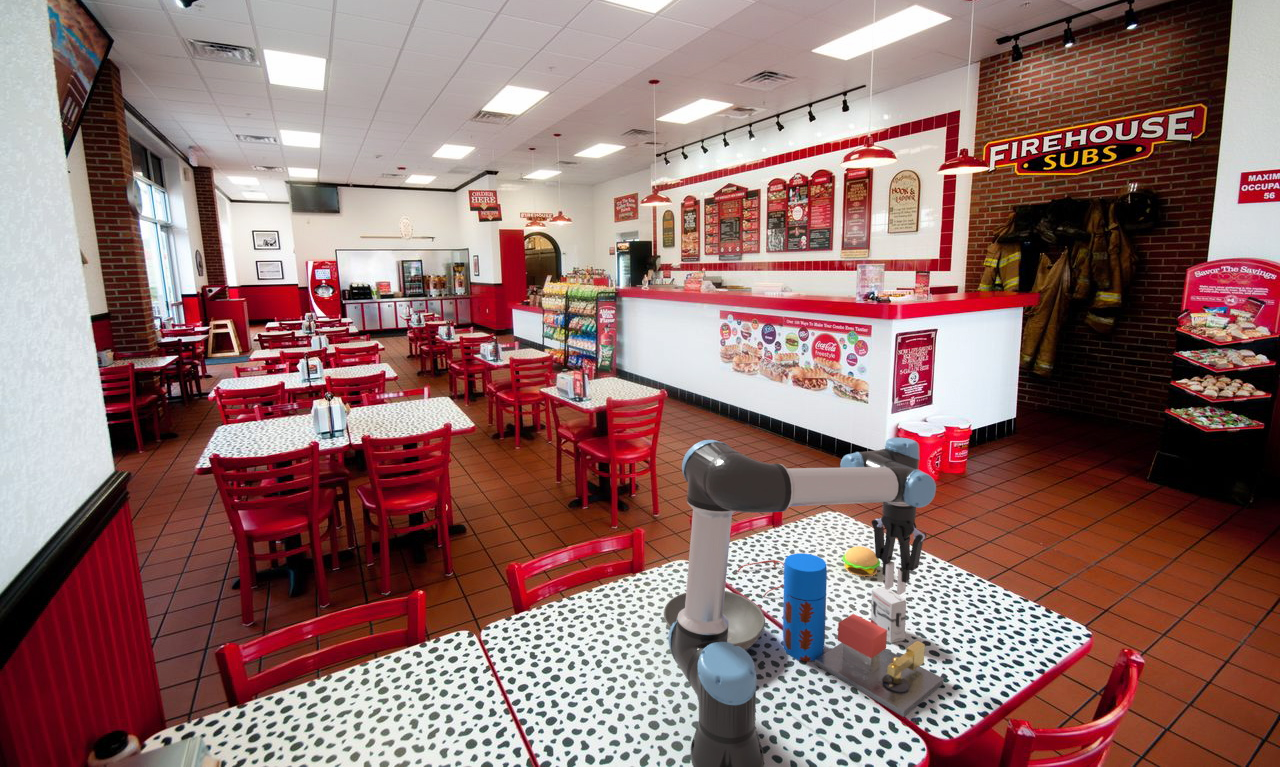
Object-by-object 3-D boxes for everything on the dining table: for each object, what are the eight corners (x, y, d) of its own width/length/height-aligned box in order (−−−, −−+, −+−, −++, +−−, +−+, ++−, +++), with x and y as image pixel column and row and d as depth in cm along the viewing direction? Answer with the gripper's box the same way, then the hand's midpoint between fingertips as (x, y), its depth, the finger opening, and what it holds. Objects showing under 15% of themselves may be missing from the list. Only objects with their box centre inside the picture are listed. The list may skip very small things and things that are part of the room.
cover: (871, 658, 144) (872, 639, 143) (837, 640, 151) (838, 622, 150) (886, 648, 147) (887, 630, 147) (852, 631, 155) (853, 613, 154)
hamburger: (882, 569, 202) (883, 545, 200) (875, 584, 192) (877, 559, 190) (846, 561, 208) (847, 538, 206) (838, 575, 198) (839, 551, 196)
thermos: (826, 663, 152) (829, 573, 148) (783, 659, 154) (785, 570, 150) (822, 639, 163) (824, 554, 159) (782, 635, 165) (783, 551, 161)
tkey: (894, 687, 139) (896, 664, 138) (885, 682, 141) (886, 659, 140) (924, 665, 147) (925, 642, 146) (915, 660, 149) (916, 638, 148)
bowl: (684, 683, 146) (684, 653, 145) (652, 622, 172) (651, 596, 171) (783, 662, 153) (784, 633, 152) (738, 607, 180) (738, 582, 178)
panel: (903, 717, 133) (905, 691, 132) (814, 664, 152) (815, 641, 151) (943, 683, 143) (944, 659, 142) (855, 638, 162) (856, 617, 161)
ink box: (869, 627, 168) (871, 588, 166) (884, 623, 169) (885, 585, 167) (890, 643, 160) (892, 603, 158) (905, 640, 161) (907, 600, 159)
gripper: (939, 506, 140) (933, 597, 144) (878, 489, 153) (874, 573, 157) (922, 513, 136) (917, 608, 140) (862, 495, 148) (858, 582, 152)
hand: (895, 589), depth 148 cm, fingers open, 3 cm apart
